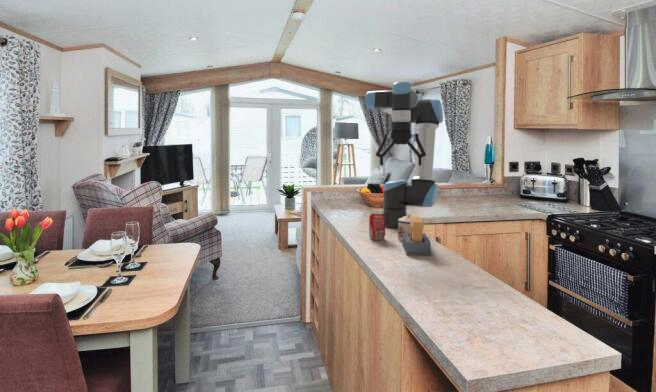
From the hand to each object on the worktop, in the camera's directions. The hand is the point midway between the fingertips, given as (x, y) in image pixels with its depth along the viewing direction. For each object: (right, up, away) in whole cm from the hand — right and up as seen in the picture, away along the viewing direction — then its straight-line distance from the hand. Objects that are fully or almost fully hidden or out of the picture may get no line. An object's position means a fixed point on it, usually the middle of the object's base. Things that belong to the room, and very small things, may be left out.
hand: (400, 173), depth 182 cm
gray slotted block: (+6, -31, -4) cm, 32 cm away
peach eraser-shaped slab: (+6, -31, -4) cm, 32 cm away
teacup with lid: (+6, -29, +12) cm, 32 cm away
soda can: (-8, -29, +15) cm, 33 cm away
